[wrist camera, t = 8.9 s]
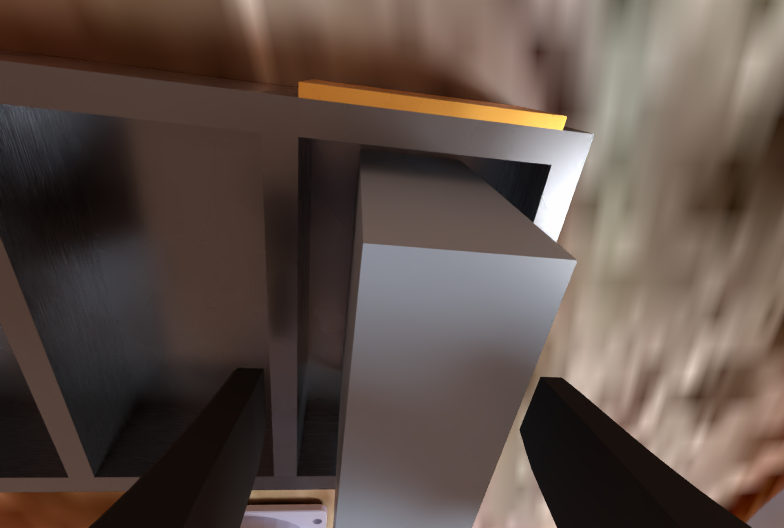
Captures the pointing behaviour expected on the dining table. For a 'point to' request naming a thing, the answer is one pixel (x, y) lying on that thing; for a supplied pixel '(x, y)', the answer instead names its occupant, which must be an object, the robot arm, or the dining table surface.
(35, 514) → the dining table surface
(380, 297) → the panel
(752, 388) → the dining table surface
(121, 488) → the rack
